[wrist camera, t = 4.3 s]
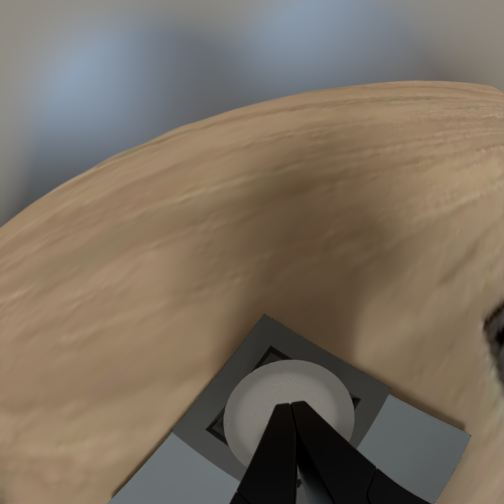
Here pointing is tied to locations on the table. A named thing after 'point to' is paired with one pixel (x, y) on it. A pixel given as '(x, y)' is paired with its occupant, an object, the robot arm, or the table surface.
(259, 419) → the button
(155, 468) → the mat
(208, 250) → the table surface
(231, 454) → the housing
